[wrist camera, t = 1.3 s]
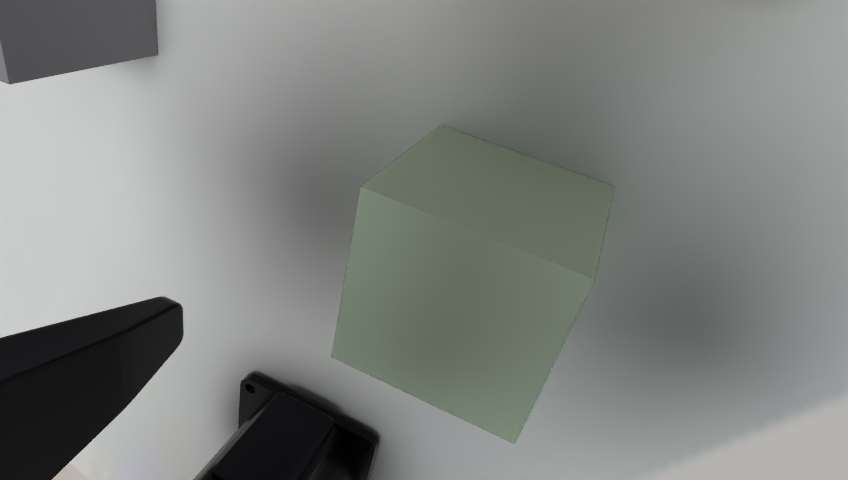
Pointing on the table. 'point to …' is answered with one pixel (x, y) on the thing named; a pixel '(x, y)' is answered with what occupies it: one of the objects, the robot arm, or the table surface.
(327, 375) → the table surface
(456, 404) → the sage cube
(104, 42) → the charcoal cube
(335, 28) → the table surface
